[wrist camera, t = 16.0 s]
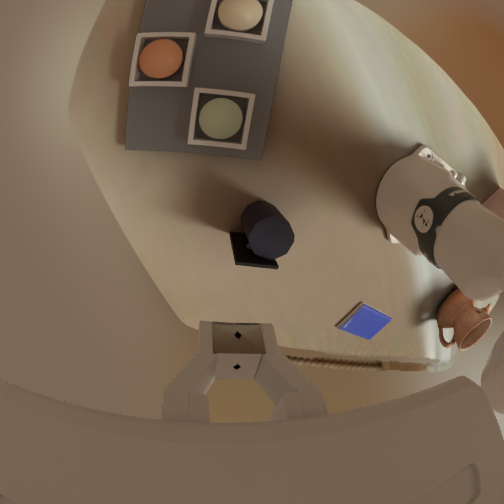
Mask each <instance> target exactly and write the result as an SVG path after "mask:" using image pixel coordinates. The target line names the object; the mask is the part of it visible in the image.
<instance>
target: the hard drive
mask: <svg viewBox="0 0 504 504" xmlns="http://www.w3.org/2000/svg"><path fill="white" fill-rule="evenodd" d="M391 319H392V318H391V316H389V315H387V314H385V313H383V312H381V311H379V310H378V309H376V308H374V307H372V306H370V305H368V304H366V303H364V302H361V303H360V304H359V305H358V306H357V307H356V308H355V309H354V310H353V311H352V312H351V313H350V314H349V315H348V316H347V317H346V318H345V319H344V320H343V321H342V322H341V323H340V324H339V325H337V327H338V329H341V330H344V331H346V332H349V333H352V334H354V335H357V336H360V337H363V338H365V339H368V340H369V339H371V338H372V337H373V336H374V335H375V334H377V333H378V332H379V331H380V330H381V329H382V328H383V327H384V326H385V325H386V324H387V323H389V322H390V321H391Z"/></svg>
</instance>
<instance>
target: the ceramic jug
mask: <svg viewBox="0 0 504 504" xmlns="http://www.w3.org/2000/svg"><path fill="white" fill-rule="evenodd" d="M475 302H476V300H472V299H469V298H468V297H466V296H465V295H464V294H463V293H462V292H461V290H460V289H459V288H457V289H456V290H454V291H453V292H452V293H451V294H450V295H448V297H447V298H446V299H445V300H444V301H443V303H442V304H441V306H440V308H439V310H438V313H437V323H438V328H439V338H440V342H441V344H442V345H443V346H444V347H446V348H448V347H451V346H453V345H454V343H455V341H456V343H457V345H458V348H459V350H460V351H465V350H466V349H469V348H470V347H471V346H473V345H474V344H476V343H477V342H478V341H479V340H480V339H481V338H482V337H483V336H484V334H485V333H486V332H487V330H488V329H489V327H490V326H491V323H492V319H491V317H490V316H489V315H488V314H487V312H489V311H490V310H491V308H492V305H491V304H488V306H487V307H485V308H482V309H478V308H476V307H474V305H475ZM451 327H454V335H453V338H452V340H451V341H450V342H449V343H447V342H446V341H445V340H444V337H443V329H442V328H451Z"/></svg>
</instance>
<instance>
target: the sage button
mask: <svg viewBox="0 0 504 504" xmlns="http://www.w3.org/2000/svg"><path fill="white" fill-rule="evenodd" d="M242 119H243V117H242V112H241V109H240V108H239V106H238V105H237V104H236V103H235V102H233V101H232V100H229V99H226V98H217V99H213V100H211V101H209V102H208V103H207V104H205V105H204V107H203V108H202V110H201V112H200V115H199V124H200V127H201V129H202V130H203V132H204V133H205V134H207V135H208V136H210V137H212V138H215V139H225V138H229V137H231V136H233V135H234V134H235V133H236V132H237V131H238V130H239V129H240V127H241V124H242Z"/></svg>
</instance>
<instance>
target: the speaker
mask: <svg viewBox="0 0 504 504" xmlns="http://www.w3.org/2000/svg"><path fill="white" fill-rule="evenodd" d="M241 223H242V225H243V228H244V231H245V233H237V232H230V233H229V234H230V240H231V245H232V250H233V255H234V260H235V265H242V266H252V267H261V268H270V269H278V267H279V266H278V264H277V262H276V260H275V259H276V258H278V257H280V256H283V255H285V254H287V252H288V250H289V249H290V247H291V246H292V244H293V242H294V233H293V231H292V228H291V226H290V224H289V222H288V221H287V220H286V219H285V218H284V216H283V215H282V214H281V213H280V212H279V211H278V210H277V208H276V207H275V206H273V205H271V204H270V203H268V202H266V201H256V202H254V203H252V204H250V205H248V206H247V207H246V209H245V211H244V212H243V214H242V216H241Z"/></svg>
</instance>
